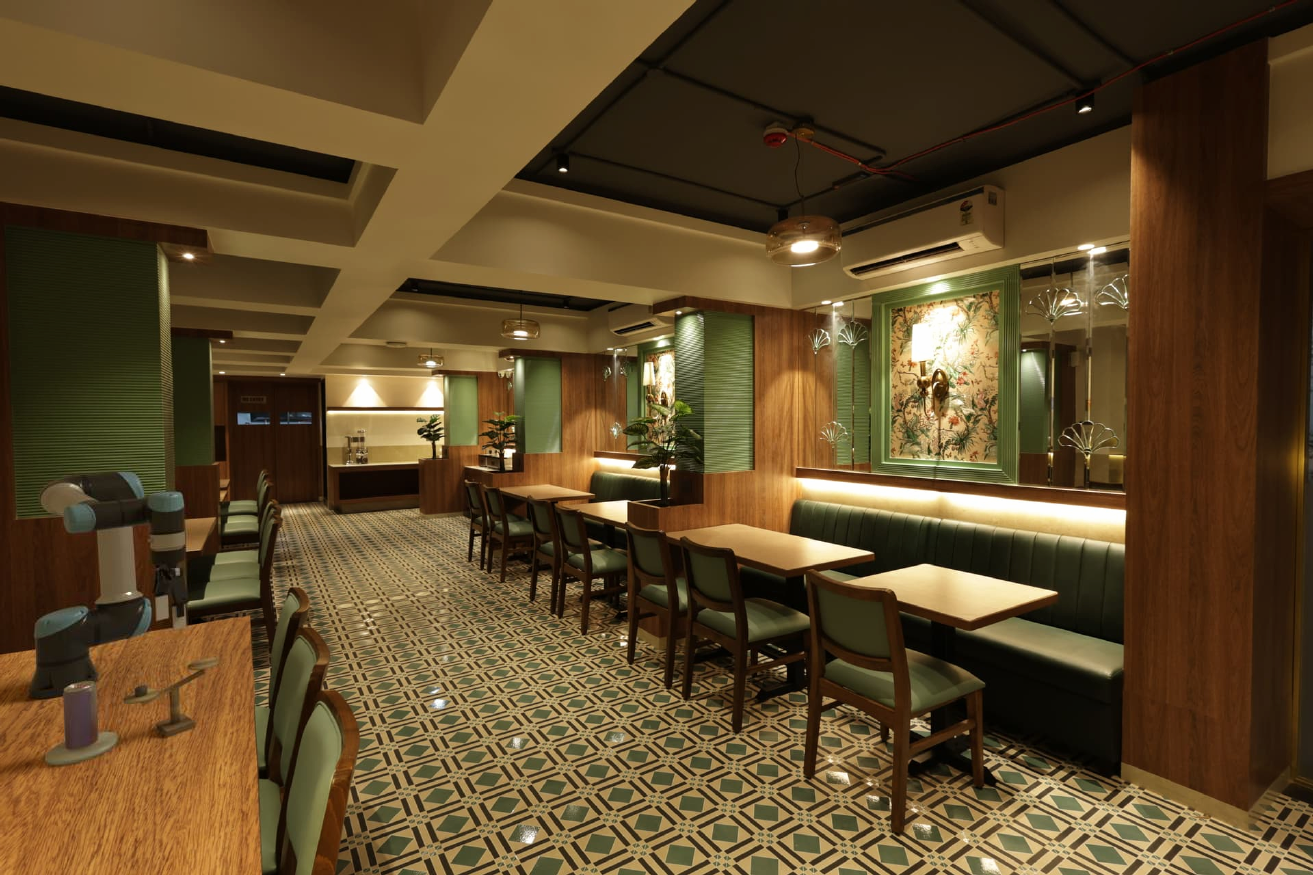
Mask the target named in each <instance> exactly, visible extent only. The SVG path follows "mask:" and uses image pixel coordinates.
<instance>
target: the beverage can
mask: <svg viewBox="0 0 1313 875" xmlns="http://www.w3.org/2000/svg"><path fill="white" fill-rule="evenodd" d="M97 695H98V692H97V685H96V683H95V682H94V681H85V682H79V683H75V684H72V685H70V686H68V687H66V688H65V689H64V693H63V695H62V699H63V701H62V703H63V706H62V707H63V724H64V726H63V727H64V742H65V748H66V749H67V750H68V751H78V750H82V749H86V748H88V747H91V746H92V745H94V744H95V743H96V742H97V741H98V739H99V735H98V733H99V720H98V718H99V716H98V714H99V713H98V697H97Z"/></svg>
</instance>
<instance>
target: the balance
mask: <svg viewBox="0 0 1313 875" xmlns="http://www.w3.org/2000/svg"><path fill="white" fill-rule="evenodd" d="M220 660H221V659H220V658H218V657H207V658H201V659H198V660H194V661H192V662H190V663H188V665H187V670H188V671H196V672H194V673H193V674H190V675H189V676H187V677H185V678H182V679H181V680H179V681H177V682H174V684H171V685H169V686H168V687H166V688H164V689H162V690H159V689H157V688H148V685H146V684H143V685H139V686H136V687H135V688H134V692H131V693H129V694H127V695H126V696H124V697H123V698H122V703H123V704H126V705H132V704H133V705H135V704H141V706H143V707H144V706H147V705H149V704H151V703H153V702H154V701H156V700H159V699H160V698H162V697H164V696H165V695H168V697H169V716H170V718H166V719H163V720H159V721H157V722H155V729H156V730H158V732H160V733H161V734H162V735H163V736H165V737H166V738H169V737H172V736H174V735H178V734H179V733H183V732H186V731H188V730H192V729H194V728H195V727H196V721H195V720H193V719H192V718H190V717H189V716H187V715H186V714H185V713H181V709H180V687H182V686H184V685H186V684H188V683H190V682H192V681H194V680H196V679H198V678H199V677H201V676H203V675H205V674H206V672H205V671H206V670H207V669H210V668H214V667H216V666H218V665H219V664H220Z"/></svg>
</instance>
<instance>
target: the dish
mask: <svg viewBox="0 0 1313 875" xmlns="http://www.w3.org/2000/svg"><path fill="white" fill-rule="evenodd" d="M98 735H99V739H98V741H97V742H96V743H95V744H94V745H92V746H91V747H88V748H86V749H82V750H78V751H68V750H67V749H66V748H65V741H64V742H61V743H59V744H57V745H56V746H55V745H54V746H53V747H52V748H50V749H49V750H48V751H47V752H46V754H45V755H44V757H45V758H44V762H45V764H46V765H48V766H55V767H57V766H58V767H60V766H69V765H74V764H78V763H81V762H85V761H87V760H90V759H94V758H97V757H98V756H101V755H102V754H105V753H107V752H108V751H110V750H112V749H113V748H114V747H116V745H117V744H118V742H119V739H118V734H117V733H116V732H112V731H100V732H99V731H98Z"/></svg>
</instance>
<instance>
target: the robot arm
mask: <svg viewBox="0 0 1313 875" xmlns="http://www.w3.org/2000/svg"><path fill="white" fill-rule="evenodd" d="M38 502H39V505H40V507H41V508H43V509H44V510H45V511H46V512H48V513H50V514H53V515H58V516H59V515H60V516H62V518H63V519H62V521H63V525H64V528H65V531H66V532H67V533H68V534H69V533H70V534H79V533H81V534H82V533H83V534H85V533H86V534H87V533H89V532H96V534H97V549H98V550H97V551H98V552H97V553H98V554H97V555H98V568H99V582H100V596H99V597H98V598H97V599H96V601H94V604H95V606H94V608H90V609H89V608H88V606H85V605H77V606H71V607H70V606H69V607H66V608H62V609H59V610H56V611H53V612H50V613H47V614H45V615H43V616H41V617H40V618H39V619H38V620H37V621H36V622H35V624H34V635H33V637H34V644H35V648H34V649H35V662H36V663H35V665H36V666H35V667H36V668H35V671H34V673H33V676H32V679H31V681H30V683H29V687H28V695H29V698H32V699H49V698H50V699H51V698H56V697H57V698H58V697H61V696H62V697H63V693H64V689H65V688H66V687H68V686H70V685H72V684H75V683H79V682H85V681H94V682H95V684H96V683H97V682H99V672H98V670H97V669H96V667H95V664H94V663H93V660H92V659H91V656H90V649H91V648H93V647H94V648H95V647H98V646H102V645H107V644H110V643H115V642H119V641H123V640H130V639H133V638H135V637H138V636H139V637H140V636H141V635H144V634H146V633H147V631H148V629H149V627H150V625H151V620H152V610H153V609H152V607H151V605H152V604H151V600H150V599H149V598H146V597H144V594H143V593H142V592H140V591H138V590H137V579H136V578H137V577H136V576H137V575H136V563H135V549H134V548H135V547H134V545H135V544H134V531H133V527H137V526H145V525H146V526H147V525H148V527H149V538H148V539H147V542H148V543H149V544H150V550H151V549H152V550H151V551H150V563H151V565H154V576H153V581H152V588H151V593H152V594H153V596H154V597H155V598H154V600H155V621H156V622H157V621H160V620H161V621H162V620H165V619H166V620H167V619H169V617H170V616H169V615H170V614H169V596H168V595H171V599H172V603H171V605H170V607H171V608H172V630H173V631H176V630H177V631H178V630H182V629H185V628H187V615H186V605H187V604H189V602H190V601H189V600H190V599H189V596H188V591H187V586H186V582H185V581H186V580H185V577H184V568H183V567H179V566H178V563H180V562H184V561H185V560H186V547H185V545H186V534H185V533H186V532H185V512H184V510H185V509H184V508H185V503H184V497H183V494H182V493H181V492H179V491H165V492H164V491H161V492H154V493H151V494H149V495H148V496H145V492H144V487H143V484H142V482H141V480H140V478H139V477H138V475H137V474H135V473H134V472H132V471H112V472H110V471H109V472H99V473H84V474H71V475H66V476H62V477H59V478H57V479H54V480H52V481H51V482H49V483H47V484H45V485H44V487H43V488H42V489H41V490H40V491H39V495H38Z"/></svg>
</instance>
